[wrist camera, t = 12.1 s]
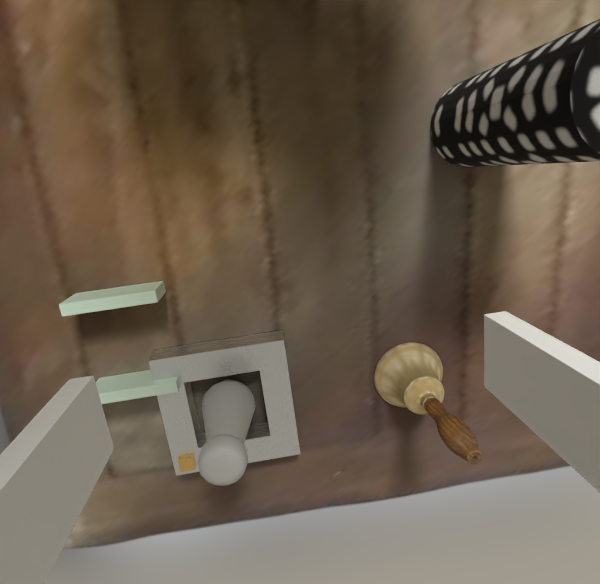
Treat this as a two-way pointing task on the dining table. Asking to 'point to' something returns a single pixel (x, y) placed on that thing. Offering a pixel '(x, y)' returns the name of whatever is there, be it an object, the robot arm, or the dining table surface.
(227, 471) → the salt shaker
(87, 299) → the pale green rectangular blocks
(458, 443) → the hand bell
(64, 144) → the dining table surface
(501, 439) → the dining table surface
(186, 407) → the socket
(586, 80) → the white-spotted black cylinder
